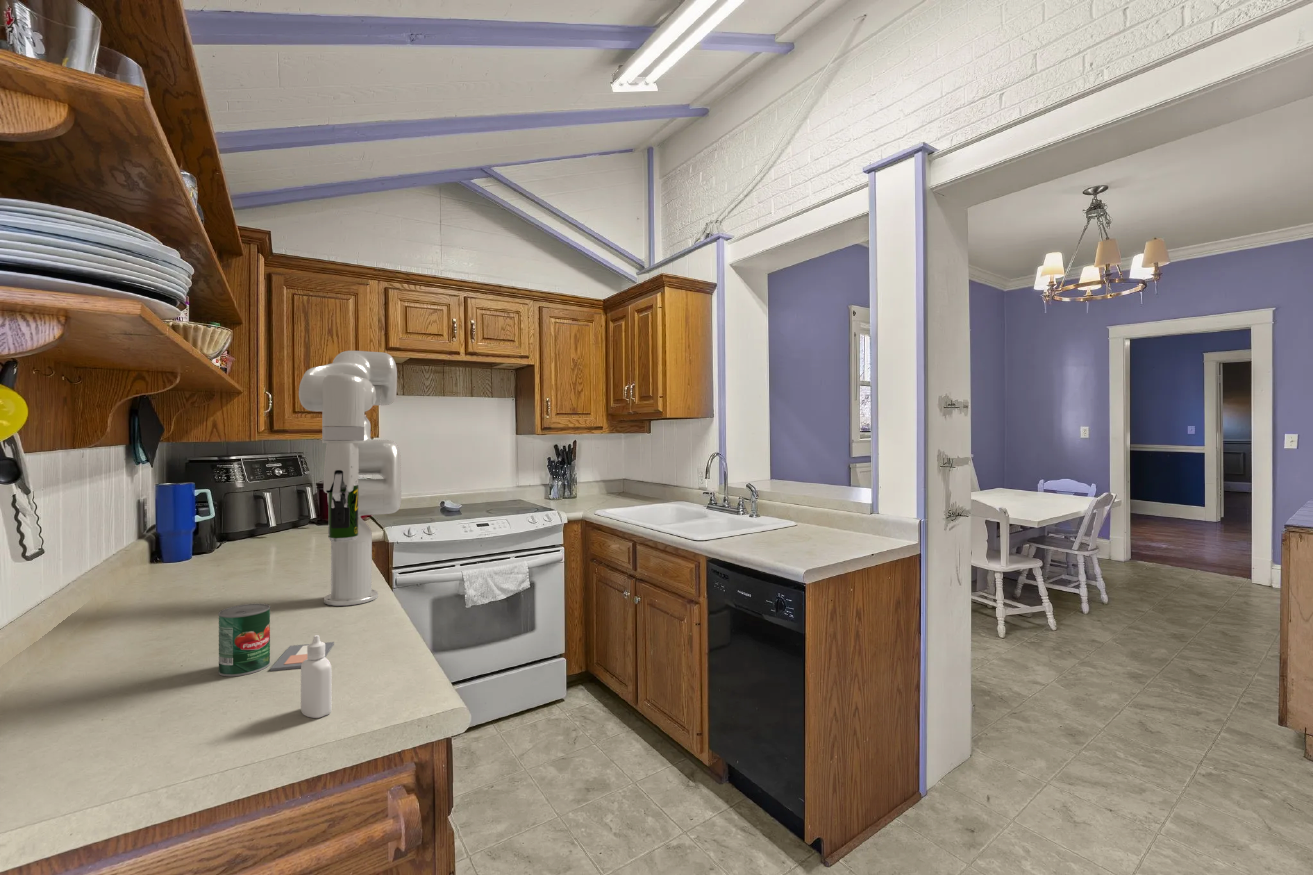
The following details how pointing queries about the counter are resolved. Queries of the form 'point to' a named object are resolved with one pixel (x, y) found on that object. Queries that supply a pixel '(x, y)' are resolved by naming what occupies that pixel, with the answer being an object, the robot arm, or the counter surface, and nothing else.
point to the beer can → (352, 530)
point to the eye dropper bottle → (316, 681)
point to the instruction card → (295, 657)
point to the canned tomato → (244, 639)
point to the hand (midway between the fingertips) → (343, 524)
